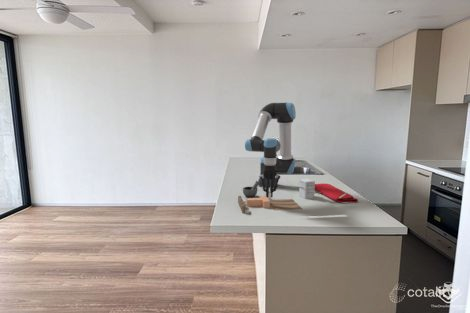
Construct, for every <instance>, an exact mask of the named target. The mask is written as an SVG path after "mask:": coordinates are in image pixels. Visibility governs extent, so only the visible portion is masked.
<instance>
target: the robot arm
mask: <svg viewBox="0 0 470 313" xmlns="http://www.w3.org/2000/svg"><path fill="white" fill-rule="evenodd" d="M296 117H297V116H296V107H295V104H294V103H293V102H270V103H267V104H266V105H265V106H263V107H262V108H261V110H260V111H259V113H258V115H257V118H258V119H257V122H256V124H255V126H254V130H253V132H252V134H251V137H250V139H246V140H245V142H244V149H245V151H246V152H247V151H248V152H255V153H256V152H258V153H259V152H260V153H263V156H262V157H260V162H259V163H260V166H259V168H260V169H259V170H260V173H259V174H260V175H259V176H258V177H259V178H258V180H257V181H258V182H259V183H260V184H258V186H259V187H261V188H262V191H263V192H265V196H266V197H267V198H268V199H269V200H270V203H271V200H272V198H273V193H274V192H276V191H277V188H278V185H279V180H280V178H281V176H280V174H287V175H289V174H293V172H294V170H295V166H296V158H294V155H293V154H292V123H294V120H295V119H296ZM271 120H276V122H277V124H279V126H278V128H279V129H278V130H279V131H278V132H279V138H278V139H279V140H278V139H276V138H273V137H272V138H271V137H270V138H264V136H265V133H266V131H267V129H268V125H269V123H270V122H271ZM278 152H279V155H278V156H277V153H278Z"/></svg>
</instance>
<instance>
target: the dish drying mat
mask: <svg viewBox="0 0 470 313" xmlns="http://www.w3.org/2000/svg"><path fill="white" fill-rule="evenodd" d="M314 191H316V192H318V193H320V194H321V195H324V196H325V197H327V198H329V199H331V200H332V201H335V202H337V203H340V202H349V203H358V201H359V200H358V198H355V197H354V195H352V194H350V193H348V192H346V191H343V190H342V189H341V188H338V187H336V186H333V185H332V184H329V183H315V189H314Z"/></svg>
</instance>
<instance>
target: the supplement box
mask: <svg viewBox="0 0 470 313" xmlns="http://www.w3.org/2000/svg"><path fill="white" fill-rule="evenodd" d="M315 184H316V181H315V180H314V179H313V180H312V179H310V178H303V179H299V189H298V190H299V191H298V192H299V193H298V196H299V197H300V198H303V199H305V200H308V199H314V198H315Z"/></svg>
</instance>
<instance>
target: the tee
mask: <svg viewBox="0 0 470 313" xmlns="http://www.w3.org/2000/svg"><path fill="white" fill-rule="evenodd" d="M245 198H246V200H245V201H246V205H247V207H249V208H250V207H262V208H263V209H270V208H271V205H270V200H269V199H268V198H267V197H266V195H260V196H259V197H254V198H247V197H245Z"/></svg>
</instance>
